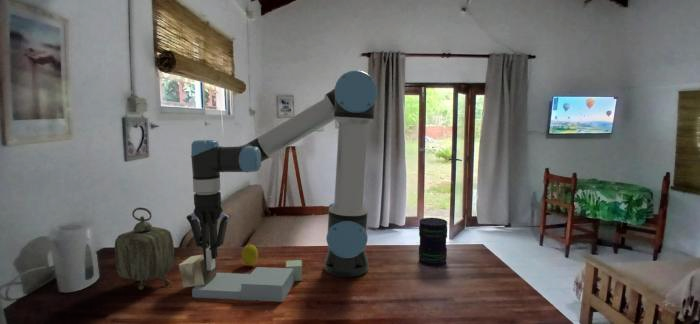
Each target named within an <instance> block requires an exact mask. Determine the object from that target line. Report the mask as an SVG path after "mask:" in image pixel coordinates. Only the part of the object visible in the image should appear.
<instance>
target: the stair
mask: <svg viewBox="0 0 700 324" xmlns="http://www.w3.org/2000/svg"><path fill="white" fill-rule="evenodd" d="M294 284H295V281H294V269H292V268H286V267H266V266H265V267H264V266H262V267H261V266H256V267H255V269H253V270H252V272H250V273H235V272H216V276H215V277H214V278H213V279H211V280H210V281H209V282H208V283H207V284H206V285H200V286H193V288H192V289H191V294H192V295H191V296H192V298H196V299H203V298H204V299H220V300H221V299H222V300H237V301H238V300H239V301H240V300H241V301H256V300H258V301H259V302H277V303H278V302H279V303H281V302H282V303H283V302H284V300H285V299H286V297H287V295H288V294H289V292H290V291H291V289H292V287H293V285H294ZM258 301H257V302H258Z"/></svg>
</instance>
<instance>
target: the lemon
mask: <svg viewBox="0 0 700 324" xmlns="http://www.w3.org/2000/svg"><path fill="white" fill-rule="evenodd" d="M241 258H242V259H241V261H242V262H243V263H244V264H245V265H248V266H249V267H251V266H253V265H254V264H255V263H256V262H257V261H258V258H259V251H258V249H257V247H256V246H255V245H253V244H251V243H249V244H247V245H245V246H244V248H243V249H242V251H241Z"/></svg>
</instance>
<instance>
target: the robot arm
mask: <svg viewBox="0 0 700 324" xmlns="http://www.w3.org/2000/svg"><path fill="white" fill-rule="evenodd" d="M377 98H378V86H377V84H376V81H375V80H374V78H373V77H372V76H371V75H370V74H368V73H367V72H365V71H362V70H357V69H356V70H355V69H354V70H350V71H346V72H345V73H343V74H342V75H341V76H340V77H339V78H338V79H337V81H336V83H335V86H334V88H333V89H332V90H330V91H328V92H327V93H325V94H324V97H323V98H322V100H320V101H318V102H316V103H315V104H312V105H311V106H309V107H307V108H306V109H304V110H303V111H300V112H299V113H297V114H296V115H294V116H292V117H291V118H288V119H286V121H284V122H282V123H280V124H278V125H277V126H275V127H273V128H271V129H270V130H268V131H266V132H265V133H263V134H261V135H259V136H257V137H256V138H254V139H252V140H251V141H249V142H247V143H245V144H243V145H239V146H220V144H219V141H218V140H217V139H199V140H198V139H197V140H196V139H195V140H194V141H192V143H191V152H190V153H191V155H190V159H191V169H192V192H194V194H193V204H194V209H193V212H192V213H190V214H188V215H187V216H186V217H185V218H186V219H187V221H188V223H189V224H190V228H191V231H192V234H193V238H194V241H195V246H196V247H198V248H199V247H200V248H202V253H203V254H202V255H203V256H204V259H206V264H207V270H212V269H214V268H215V269H216V259H217V258H218V248H219V247H221V246H222V245H223V244H224V242H225V238H226V237H225V236H226V231H227V226H228V221H230V219H231V214H227V213H225V212H223V211H224V210H223V208H222V192H220V190H221V175H220V173H245V174H246V173H254V172H258V171H259V170H260V168H261V167H262V162H264V161H266V160H268V159H269V158H271V157H272V156H274V155H276V154H278V153H279V152H281V151H283V150H284V149H286V148H288V147H289V146H291V145H293V144H295V143H297V142H299V141H300V140H302V139H304V138H305V137H308V135H311V134H312V133H314V132H316V131H318V130H320V129H322V128H323V127H324V126H326V125H328V124H330V123H331V122H333V121H336V122H337V123H338V132H337V133H338V134H337V149H336V150H337V153H336V165H335V167H336V168H335V183H334V185H335V186H334V187H335V189H334V201H333V203H329V205H328V210H327V213H328V217H327V220H328V221H327V233H326V244H327V246H328V250H327V254H326V256H325V260H324V265H323V266H324V271H325V273H327V274H329V275H330V276H334V277H338V278H354V277H358V276H362V275H364V274H365V273H367V272H368V271H369V260H368V256H367V253H366V251H365V248H366V246H367V243H368V238H369V237H368V233H367V228H368V227H367V224H368V210H367V208H366V207H365V206H364V192H365V180H366V176H365V175H366V163H367V147H368V132H369V125H370V124H371V123H372V122H373V121H374V120H375V108H376V101H377ZM218 220H220V223H219V227H218Z"/></svg>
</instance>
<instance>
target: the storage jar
mask: <svg viewBox="0 0 700 324" xmlns="http://www.w3.org/2000/svg"><path fill="white" fill-rule="evenodd" d="M418 231H419V232H418V236H419V245H418V258H419V259H418V262H419V264H421V265H423V266H425V267H428V268H440V267H441V268H442V267H444V266H446V265H447V256H448V254H447V253H448V248H447V238H448V220H445V219H443V218H439V217H422V218H420V219H419V226H418Z"/></svg>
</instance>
